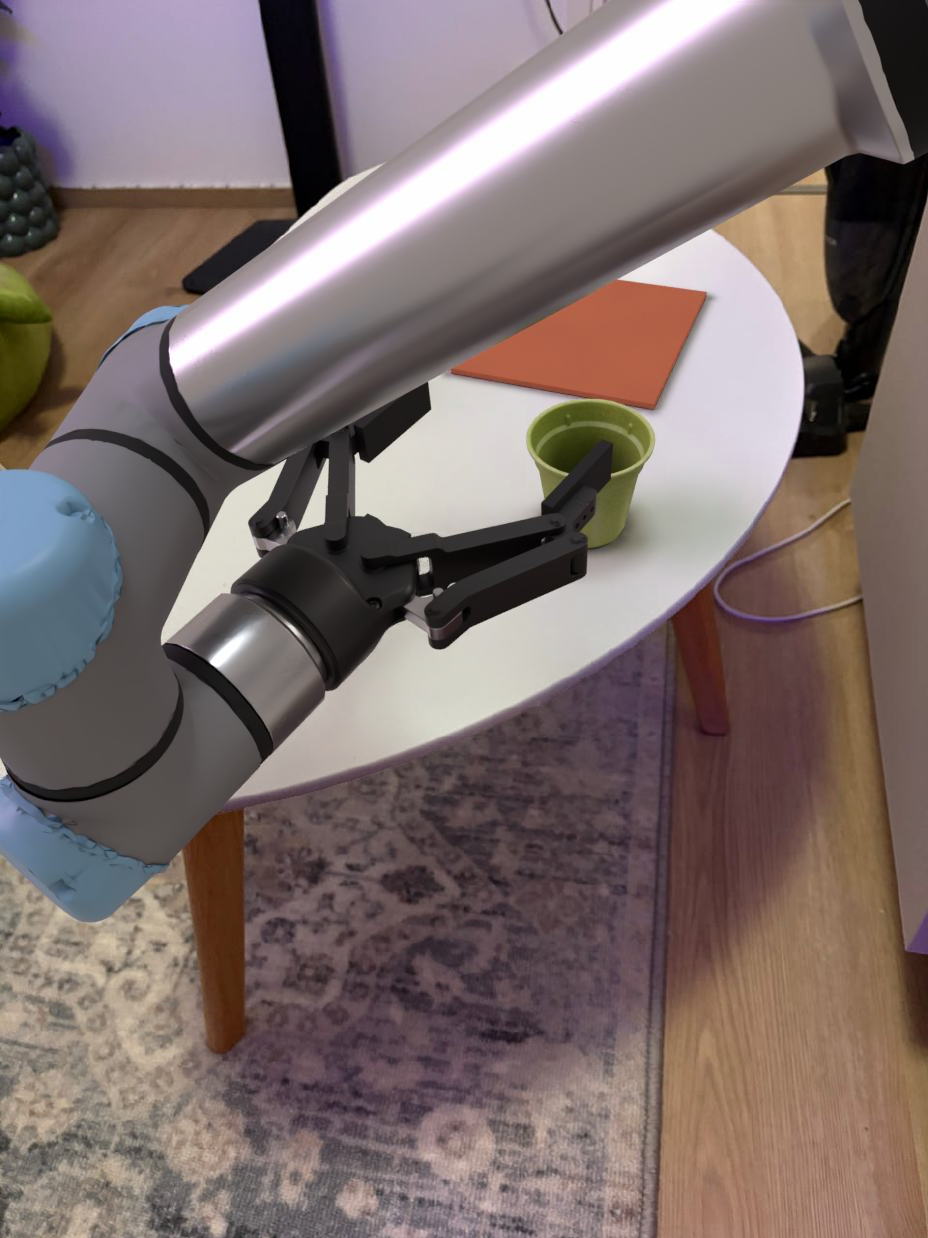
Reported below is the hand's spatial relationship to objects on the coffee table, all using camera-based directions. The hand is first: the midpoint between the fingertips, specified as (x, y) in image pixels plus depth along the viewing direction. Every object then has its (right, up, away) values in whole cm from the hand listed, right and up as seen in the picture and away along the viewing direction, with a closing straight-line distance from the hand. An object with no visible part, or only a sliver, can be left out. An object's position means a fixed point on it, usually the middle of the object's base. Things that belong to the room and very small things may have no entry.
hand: (511, 422), depth 58 cm
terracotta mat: (+9, +16, +35) cm, 40 cm away
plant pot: (+7, -5, +17) cm, 19 cm away
